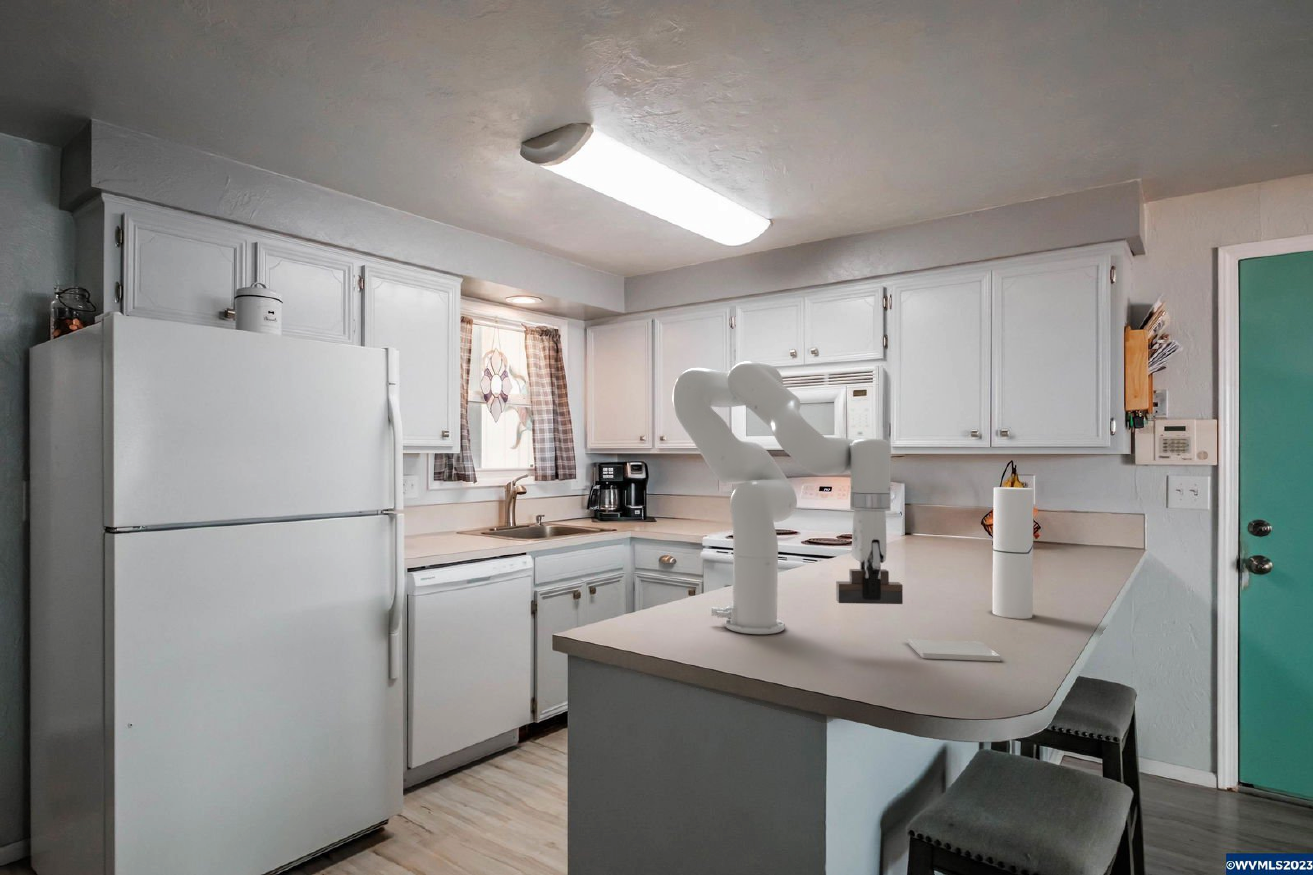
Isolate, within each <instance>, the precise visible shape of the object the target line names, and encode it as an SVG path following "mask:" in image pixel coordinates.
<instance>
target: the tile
mask: <svg viewBox="0 0 1313 875" xmlns="http://www.w3.org/2000/svg"><path fill="white" fill-rule="evenodd" d="M908 645H909V646H910V647H911V649H913V650H914V652H916V653H917V654H918V655H919V656H920V657H921V658H922V659H930V660H931V659H933V660H954V661H955V660H957V661H980V662H981V661H982V662H1001V660H1002V659H1001V655H1000V654H998V653H997V652H996V651H994V650H993V649H992V648H990V647H989V646H987V644H985V643H983V642H982V641H970V640H969V641H967V640H942V639H941V640H939V639H936V640H935V639H918V638H917V639H914V638H913V639H912V638H909V639H908Z"/></svg>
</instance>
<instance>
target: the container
mask: <svg viewBox="0 0 1313 875" xmlns="http://www.w3.org/2000/svg"><path fill="white" fill-rule="evenodd" d="M1034 491H1035V490H1034V488H1030V487H1015V486H1014V487H1012V486H1011V487H1010V486H1005V487H1004V486H995V487H993V498H992V499H993V503H992V504H993V505H992V506H993V508H992V510H993V512H992V514H993V516H992V518H993V519H992V522H993V523H992V610H991V611H992V614H993V615H995V616H998V617H1002V618H1009V619H1016V620H1017V619H1018V620H1019V619H1021V620H1023V619H1024V620H1026V619H1031V618H1033V608H1034V607H1033V602H1034V601H1033V598H1034V597H1033V595H1034V594H1033V591H1034Z"/></svg>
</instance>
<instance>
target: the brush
mask: <svg viewBox="0 0 1313 875" xmlns="http://www.w3.org/2000/svg"><path fill="white" fill-rule="evenodd" d="M848 578H849V581H843V580H841V581H840V580H839V581H838V580H836V581H835V586H836V587H835V595H836V596H835V601H836V602H837V603H838V604H862V605H863V604H865V605H867V604H868V605H869V604H871V605H903V601H904V600H903V599H904V596H903V593H904V592H903V591H904V590H903V584H902V583H901V582H900V581H890V574H889V570H887V569H883V568H881V599H880V600H865V599H864V598H863V578H865V569H860V568H849V576H848Z"/></svg>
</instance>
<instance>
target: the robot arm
mask: <svg viewBox="0 0 1313 875" xmlns="http://www.w3.org/2000/svg"><path fill="white" fill-rule="evenodd" d="M672 406H673V410H674V413H675V416H676V418H677V420H678V422H679V423H680V425H681V426H682V428H683V429H684V431H685V432H686V434H687V435H688V436H689V437H690V439H691V440H692V442H693V443H694V445H695V447H696V448H697V450H698V452H699V454H700V455H701V456H702V458H703V460H704V461H705V463H706V464H707V466H708V467H709V469H710V470H711V472H712V474H713V475H714V476H715V478H716V479H717V480H718V481H719V482H721V483H723V484H728V485H729V484H730V485H732V484H733V485H737V484H738V486H737V487H736V488H735V489H734V490H733V491H732V494H731V495H730V499H729V512H730V519H731V524H732V536H733V537H732V539H733V540H732V541H733V544H732V547H733V550H732V553H733V554H732V560H733V562H732V602H731V603H730V605H729V606H728V605H726V607H719V606H711V617H716V618H718V619H719V618H720V619H723V618H724V619H725V621H724V626H725V628H726V629H728V630H729V631H732V632H736V633H739V634H740V633H741V634H746V635H747V634H748V635H773V634H778V633H781V632H782V631H784V630H785V623H784V621H782V620H780V619H778V581H779V580H778V579H779V578H778V575H779V573H778V572H779V567H778V566H779V543H778V542H779V541H778V536H777V535H778V534H777V530H776V528H775V524H774V523H779V522H784V521H786V520H788V519H789V518H791V517H792V516H793V515H794V513H795V512H796V508H797V506H798V498H797V494H796V491H795V488H794V487H793V486H792V484H791V482H790V481H789V479H788V478H787V476H786V475H785V474H784V472H783V471H782V469H781V467H779V465H778V463H777V462H776V461H775V459H774V458H773V456H772V455H771V454H770V453H769V451H768V450H767V449H766V448H764V447H763V446H762V445H760V443H756V442H753V441H744V440H743V441H742V440H740V439H739V438H738V437H737V436H736V435H735V434H734V432H733V431H732V430H731V428H730V427H729V426H728V424H727V422H726V421H725V420H724V418H723V417H722V416H721V415H720V414H719V413H717V412H716V411H715V410H714V409H713V408H735V407H742V406H746V407H747V408H748V409H749V410H750V411H751V412H752V413H754V415H756V416H757V417H758V418H759V419H760V420H761V421H762V422H763V423H765V424H766V425H767V426H768V428H770V430H771V432H772V435H773V437H774V438H775V440H776V442H777V443H778V445H779V446H780V448H781V449H782V450H783V451H784V452H785V453H786V454H787V455H788V456H789V457H790V458H791V459H793V460H794V461H795V462H796V463H797V464H798V465H799V466H801V467H802V468H803V469H804V470H806V471H807V472H808V473H811V474H813V475H816V476H821V477H822V476H843V475H844V476H845V475H850V476H849V477H850V490H849V493H850V494H849V495H850V497H849V498H850V499H849V500H850V507H849V508H850V510H851V511H853V518H852V532H851V533H852V534H851V535H852V536H851V557H852V558H854V559H855V560H856V561H858V563H859V569H865V578H863V598H864V599H865V600H880V599H881V569H882V568H881V567H882V564H884V563H885V562H886V560H887V516H886V512H890V511H892V510H891V509H892V508H891V504H892V502H891V500H892V498H891V495H892V494H891V491H892V490H891V489H892V488H891V487H892V483H891V482H892V446H891V444H890V442H889V440H886V439H884V438H857V439H851V438H844V437H831V436H830V437H829V436H824V435H823V434H822V433H820V432H819V431H818V430H817V429H816V428H814V427H813V426H812V424H810V423H809V422H808V421H806V419H805V418H804V417H803V416H802V414H801V413H800V409H801V400H800V398H799V397H798V396H797V395H795V394H794V393H793V392H792V391H791V390H790V389H788V388H787V387H786V386H785V385H784V379H783V377H782V374H781V373H780V371H779V370H778V369H777V368H776V367H774V366H772V365H770V364H766V363H762V362H761V363H760V362H756V361H750V360H749V361H748V360H745V361H741V362H738V363H737V364H735V365H734V366H733V367H732V368H731V369H730V370H729V371H724V370H718V369H713V368H712V369H711V368H705V367H692V368H689V369H686V370H684V371H683V372H682V373H681V374H679V375H678V377H677V379H676V380H675V382H674V386H673V388H672Z"/></svg>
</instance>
